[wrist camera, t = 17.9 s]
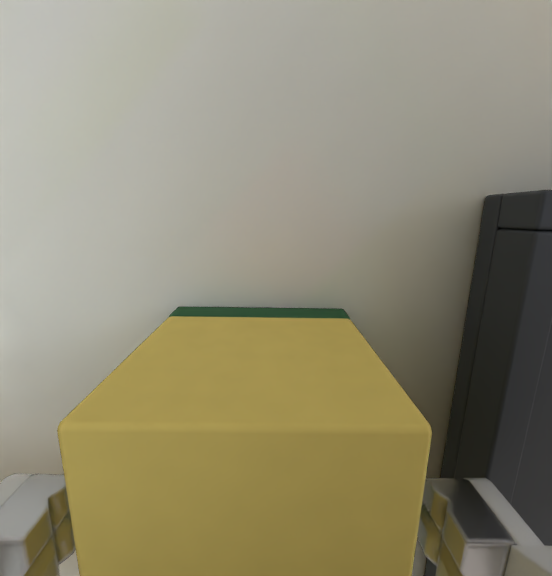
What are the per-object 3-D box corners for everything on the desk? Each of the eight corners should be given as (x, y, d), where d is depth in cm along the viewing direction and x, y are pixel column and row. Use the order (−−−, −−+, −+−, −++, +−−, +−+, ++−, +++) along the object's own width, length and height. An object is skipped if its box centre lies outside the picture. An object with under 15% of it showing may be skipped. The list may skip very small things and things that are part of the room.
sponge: (177, 306, 9) (51, 425, 4) (343, 308, 9) (436, 428, 4) (191, 565, 11) (122, 866, 6) (326, 565, 11) (372, 863, 6)
